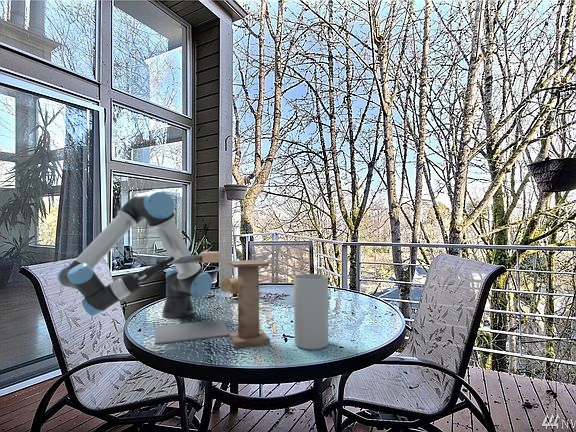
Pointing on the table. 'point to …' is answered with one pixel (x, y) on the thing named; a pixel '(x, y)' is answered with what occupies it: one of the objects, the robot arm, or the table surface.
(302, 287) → the cylinder vase
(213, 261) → the wooden mallet
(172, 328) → the rubber mat
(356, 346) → the table surface
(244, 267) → the bobbin stand
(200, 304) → the table surface
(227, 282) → the decorative spool
